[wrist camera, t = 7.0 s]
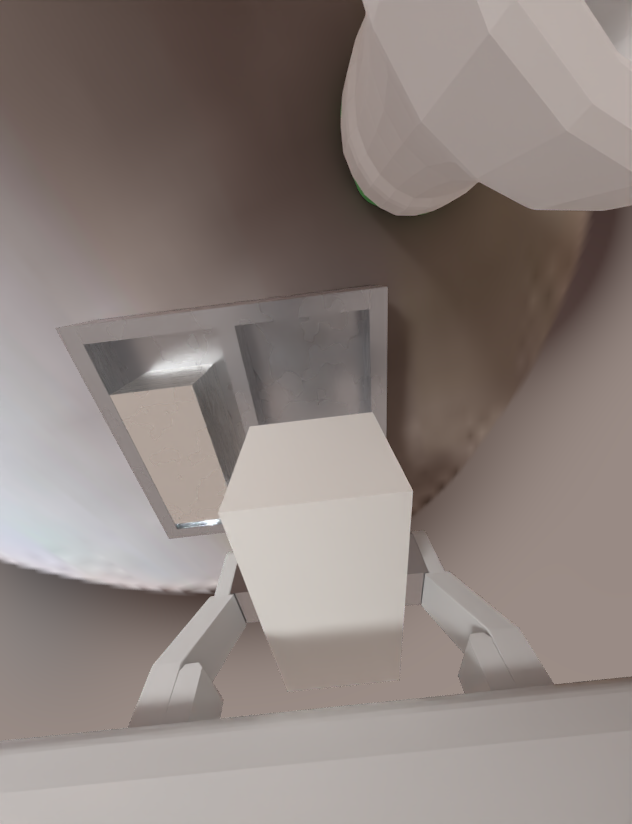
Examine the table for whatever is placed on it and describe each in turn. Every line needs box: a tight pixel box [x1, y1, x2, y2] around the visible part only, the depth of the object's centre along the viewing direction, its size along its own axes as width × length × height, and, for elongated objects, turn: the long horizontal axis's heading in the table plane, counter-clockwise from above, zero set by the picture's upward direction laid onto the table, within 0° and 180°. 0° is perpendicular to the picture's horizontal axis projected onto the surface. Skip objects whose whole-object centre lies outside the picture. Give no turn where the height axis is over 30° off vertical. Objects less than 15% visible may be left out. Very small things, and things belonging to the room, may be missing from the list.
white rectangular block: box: [218, 412, 413, 692], centre depth 10 cm, size 10×4×4 cm, turn 6°
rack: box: [56, 285, 388, 539], centre depth 19 cm, size 17×18×5 cm
